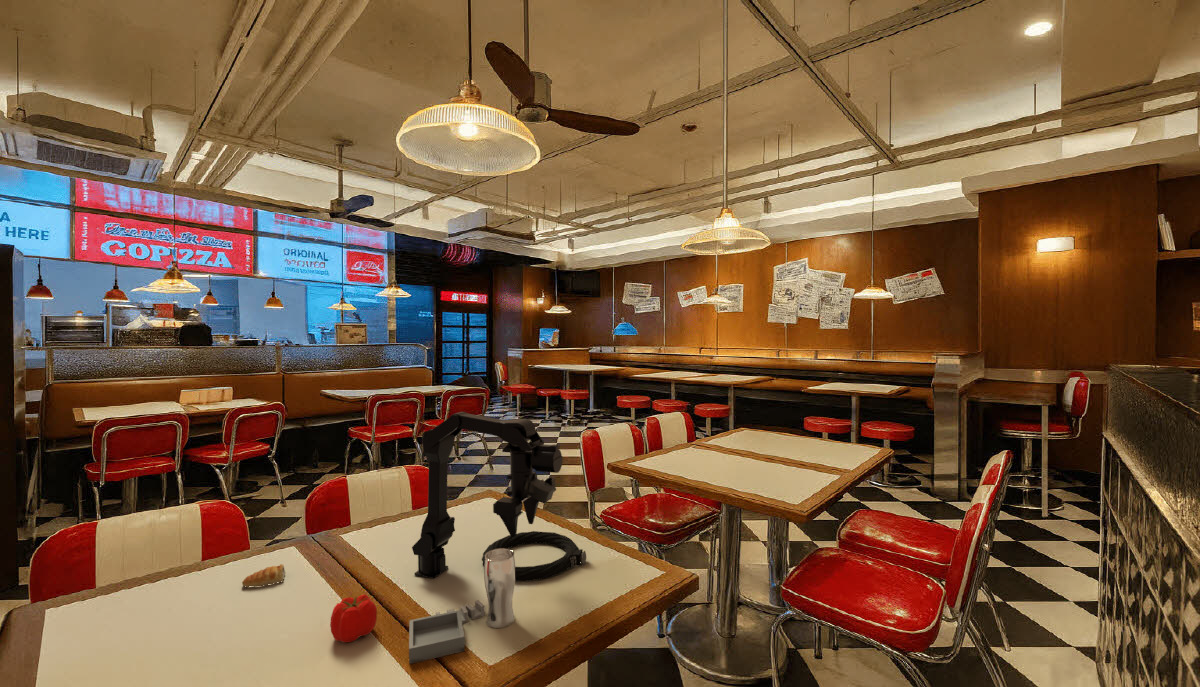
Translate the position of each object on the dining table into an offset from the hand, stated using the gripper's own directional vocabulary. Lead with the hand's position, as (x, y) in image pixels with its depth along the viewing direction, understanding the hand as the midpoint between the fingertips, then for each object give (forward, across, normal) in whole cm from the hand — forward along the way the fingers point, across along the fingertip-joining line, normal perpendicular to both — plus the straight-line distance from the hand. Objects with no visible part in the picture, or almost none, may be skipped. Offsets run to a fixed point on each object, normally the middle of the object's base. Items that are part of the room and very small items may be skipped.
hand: (522, 530), depth 124 cm
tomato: (+15, -29, +25) cm, 42 cm away
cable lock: (+15, +15, +4) cm, 22 cm away
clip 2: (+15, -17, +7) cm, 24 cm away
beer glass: (+15, -15, -2) cm, 21 cm away
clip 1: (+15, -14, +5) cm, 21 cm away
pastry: (+15, -18, +67) cm, 71 cm away
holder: (+15, -26, +6) cm, 31 cm away
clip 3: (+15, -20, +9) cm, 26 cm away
